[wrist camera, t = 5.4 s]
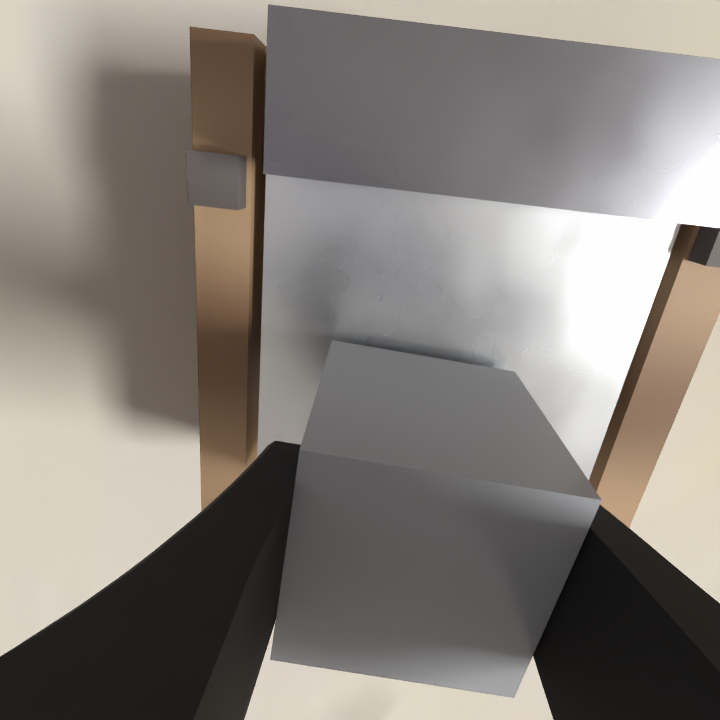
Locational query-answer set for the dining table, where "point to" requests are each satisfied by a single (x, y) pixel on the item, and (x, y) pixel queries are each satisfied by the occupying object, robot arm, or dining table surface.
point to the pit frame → (245, 280)
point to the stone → (427, 523)
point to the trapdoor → (473, 205)
